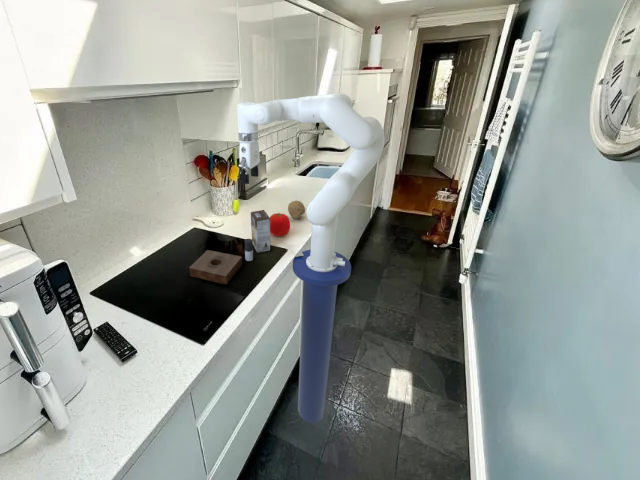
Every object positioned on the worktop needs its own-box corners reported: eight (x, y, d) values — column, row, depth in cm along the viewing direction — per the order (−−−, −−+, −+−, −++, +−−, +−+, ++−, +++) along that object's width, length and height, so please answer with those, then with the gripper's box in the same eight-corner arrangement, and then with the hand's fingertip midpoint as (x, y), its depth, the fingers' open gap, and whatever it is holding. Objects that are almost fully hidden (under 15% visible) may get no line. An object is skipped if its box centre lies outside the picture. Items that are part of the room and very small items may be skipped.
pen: (254, 257, 131) (253, 239, 127) (251, 261, 128) (250, 242, 124) (247, 256, 132) (246, 238, 128) (244, 260, 129) (243, 241, 125)
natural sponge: (297, 213, 170) (298, 196, 165) (308, 219, 163) (309, 201, 159) (284, 217, 165) (284, 200, 161) (295, 223, 159) (295, 205, 154)
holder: (242, 264, 126) (241, 256, 124) (226, 284, 115) (225, 275, 113) (208, 257, 132) (207, 249, 130) (190, 276, 120) (189, 267, 119)
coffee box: (251, 243, 142) (249, 211, 135) (264, 240, 143) (263, 209, 136) (257, 253, 134) (255, 220, 127) (271, 250, 136) (270, 217, 128)
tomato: (289, 240, 143) (289, 219, 138) (266, 238, 145) (266, 218, 140) (291, 230, 152) (291, 210, 148) (270, 228, 154) (269, 209, 150)
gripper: (248, 142, 109) (250, 187, 117) (265, 133, 123) (266, 174, 131) (229, 141, 112) (232, 185, 119) (248, 132, 126) (250, 173, 134)
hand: (250, 179), depth 125 cm, fingers open, 9 cm apart
